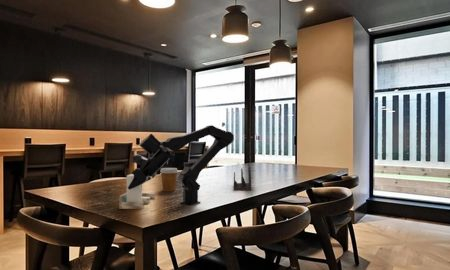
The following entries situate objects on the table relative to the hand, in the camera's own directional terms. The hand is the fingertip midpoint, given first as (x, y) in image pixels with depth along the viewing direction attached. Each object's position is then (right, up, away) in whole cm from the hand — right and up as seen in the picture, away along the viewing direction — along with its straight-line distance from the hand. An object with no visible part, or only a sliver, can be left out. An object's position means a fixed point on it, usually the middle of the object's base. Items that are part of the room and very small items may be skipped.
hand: (131, 187), depth 123 cm
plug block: (+1, -8, 0) cm, 8 cm away
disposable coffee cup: (+9, -9, +38) cm, 40 cm away
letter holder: (+49, -9, +48) cm, 70 cm away
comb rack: (+1, -8, +5) cm, 10 cm away
